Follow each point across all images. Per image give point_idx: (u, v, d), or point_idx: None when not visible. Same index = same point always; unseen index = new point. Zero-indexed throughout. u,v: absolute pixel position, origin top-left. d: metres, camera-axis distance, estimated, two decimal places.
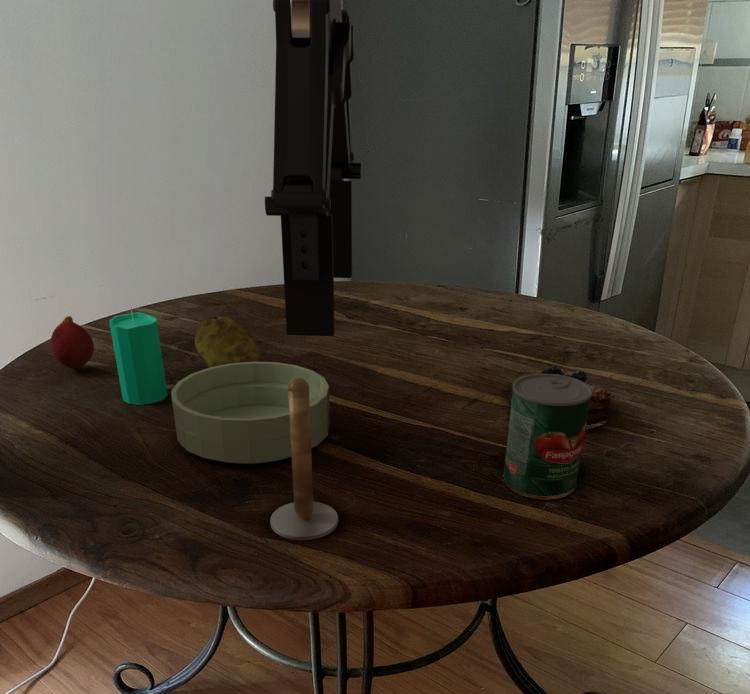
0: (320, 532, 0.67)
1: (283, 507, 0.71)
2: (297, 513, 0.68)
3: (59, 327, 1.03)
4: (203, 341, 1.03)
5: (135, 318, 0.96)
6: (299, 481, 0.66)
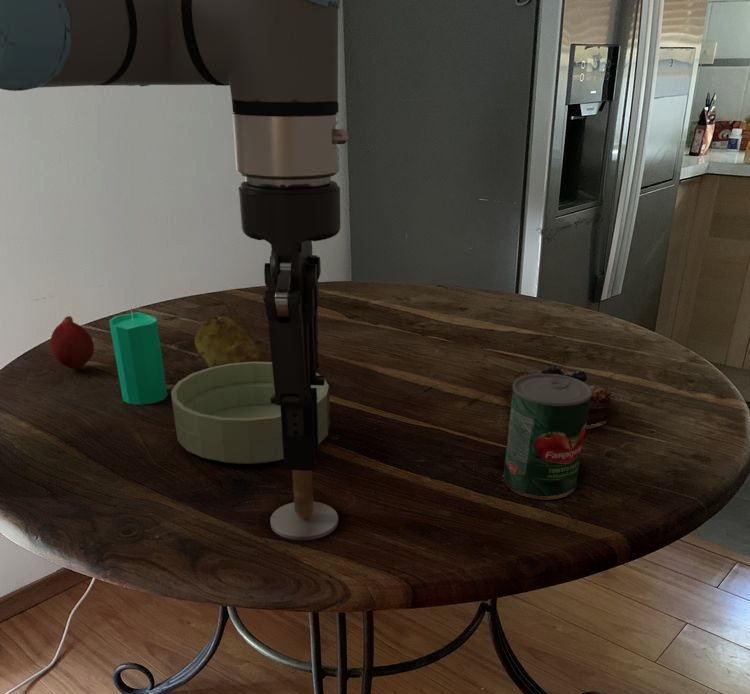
0: (320, 532, 0.67)
1: (283, 507, 0.71)
2: (297, 513, 0.68)
3: (59, 327, 1.03)
4: (203, 341, 1.03)
5: (135, 318, 0.96)
6: (299, 481, 0.66)
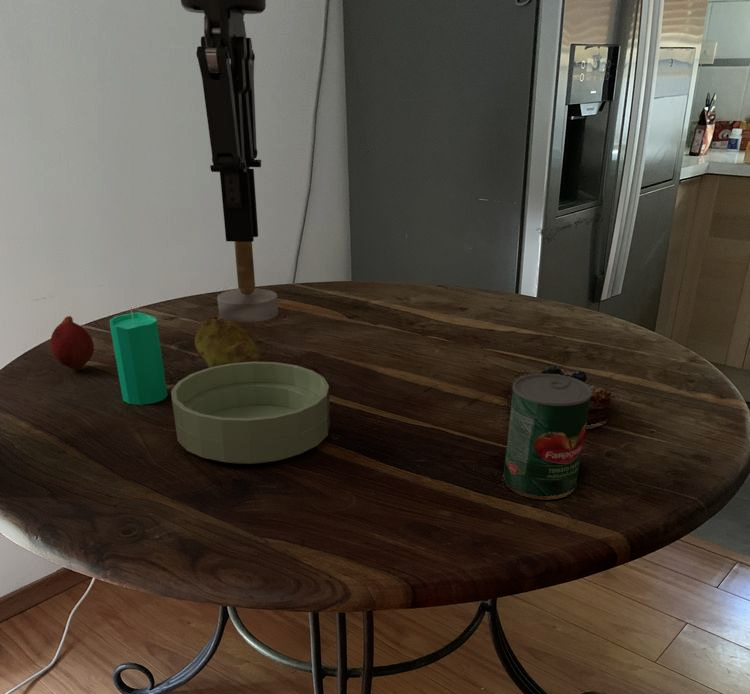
0: (259, 302, 0.77)
1: (230, 290, 0.81)
2: (240, 288, 0.78)
3: (59, 327, 1.03)
4: (203, 341, 1.03)
5: (135, 318, 0.96)
6: (241, 255, 0.76)
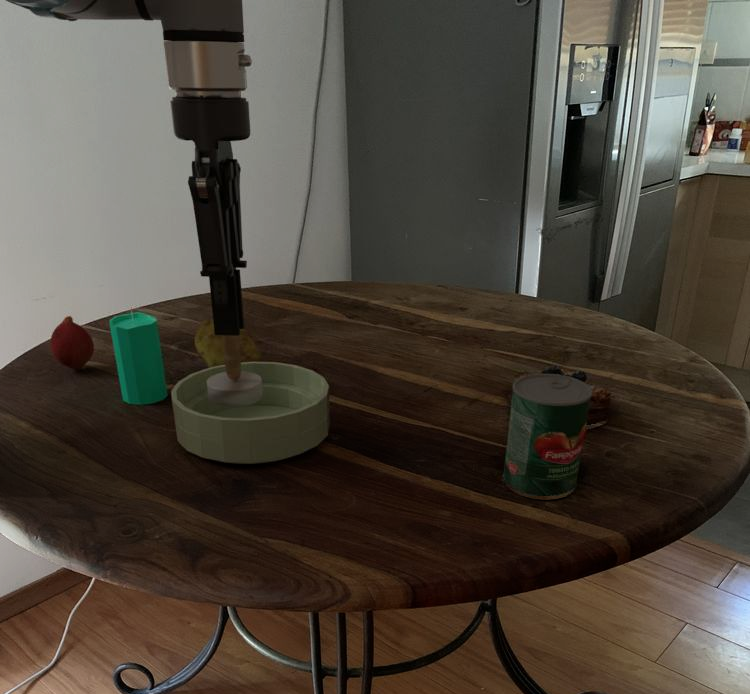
0: (245, 388, 0.84)
1: (218, 374, 0.88)
2: (228, 375, 0.85)
3: (59, 327, 1.03)
4: (203, 341, 1.03)
5: (135, 318, 0.96)
6: (228, 346, 0.83)
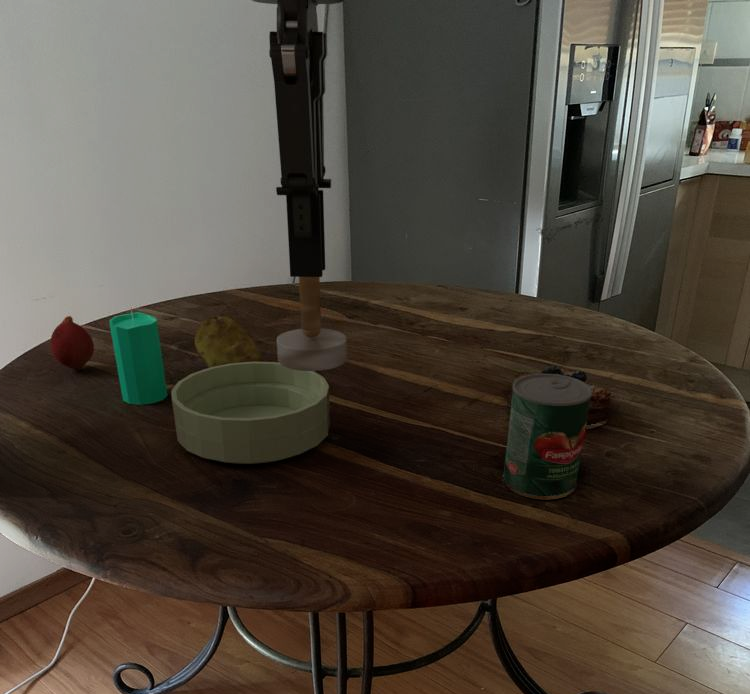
0: (328, 347, 0.65)
1: (289, 331, 0.69)
2: (304, 331, 0.66)
3: (59, 327, 1.03)
4: (203, 341, 1.03)
5: (135, 318, 0.96)
6: (307, 292, 0.64)
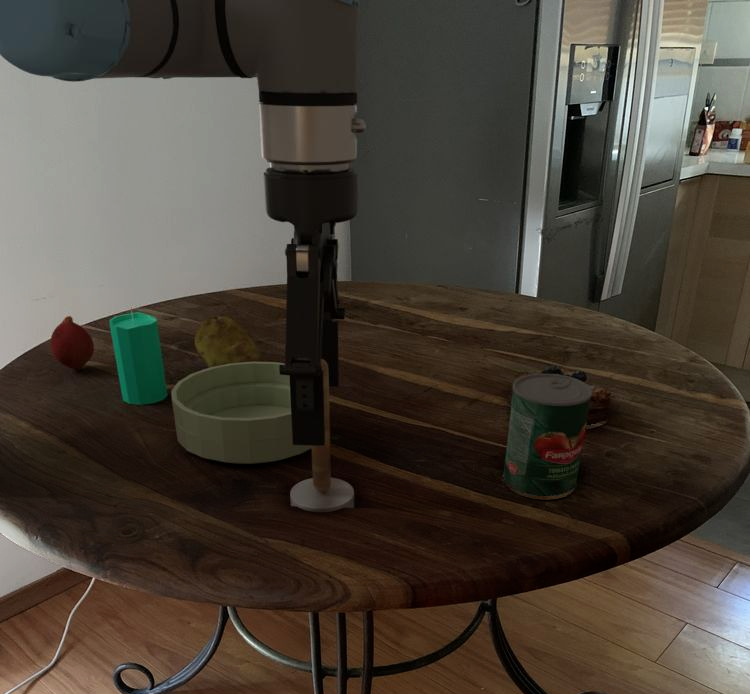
0: (337, 504, 0.71)
1: (302, 482, 0.75)
2: (315, 487, 0.72)
3: (59, 327, 1.03)
4: (203, 341, 1.03)
5: (135, 318, 0.96)
6: (318, 456, 0.70)
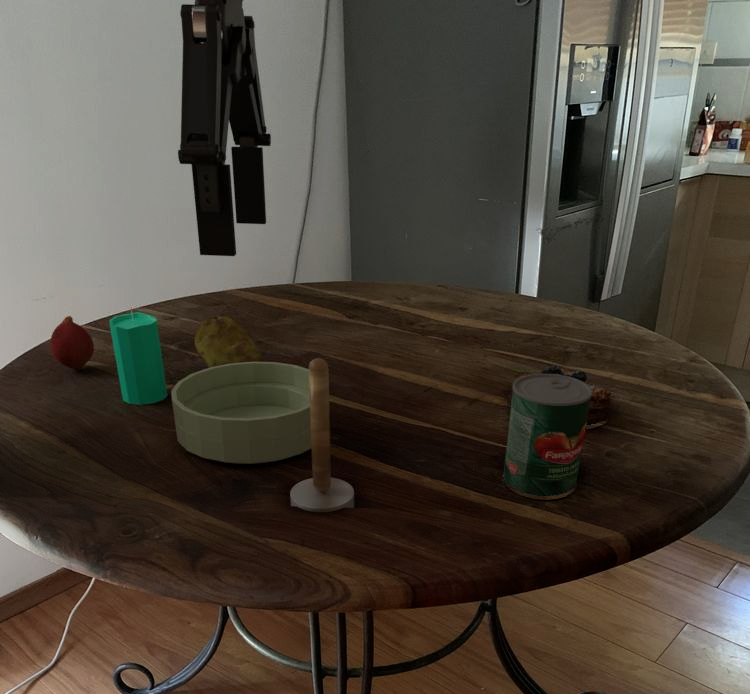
0: (337, 504, 0.71)
1: (302, 482, 0.75)
2: (315, 487, 0.72)
3: (59, 327, 1.03)
4: (203, 341, 1.03)
5: (135, 318, 0.96)
6: (318, 456, 0.70)
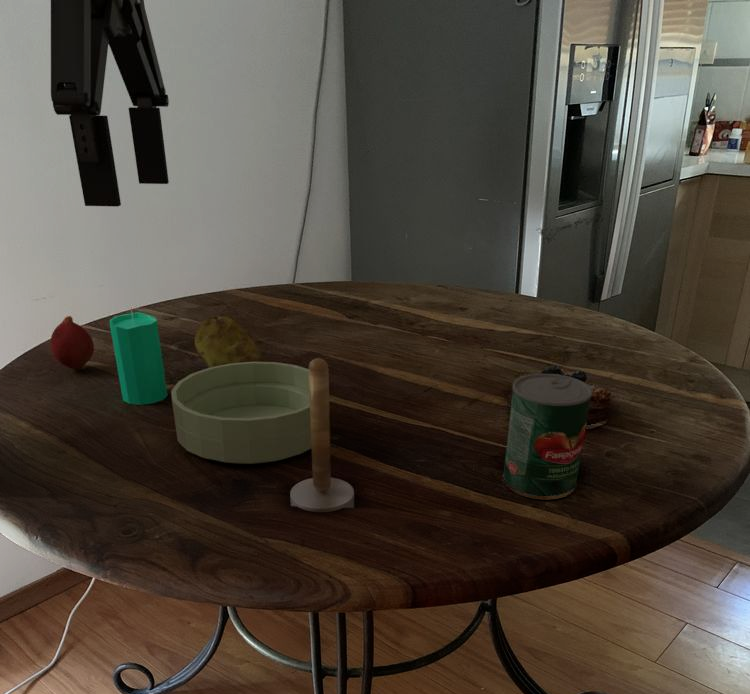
0: (337, 504, 0.71)
1: (302, 482, 0.75)
2: (315, 487, 0.72)
3: (59, 327, 1.03)
4: (203, 341, 1.03)
5: (135, 318, 0.96)
6: (318, 456, 0.70)
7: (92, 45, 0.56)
